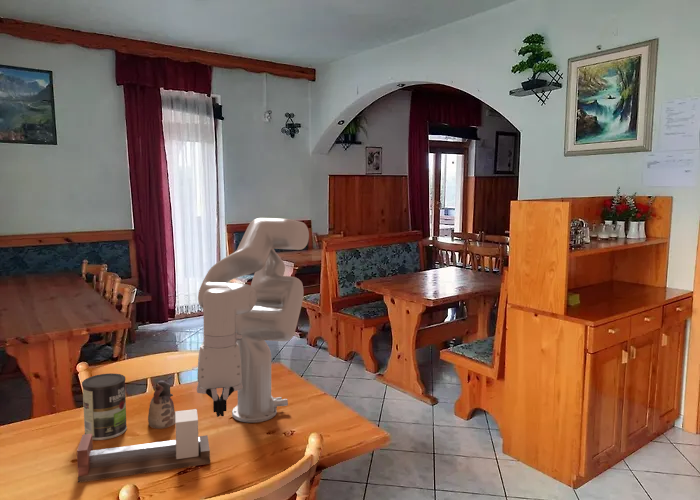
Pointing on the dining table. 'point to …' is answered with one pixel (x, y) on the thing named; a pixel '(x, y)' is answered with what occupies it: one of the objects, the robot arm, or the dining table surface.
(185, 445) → the block
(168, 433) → the dining table surface
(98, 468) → the board
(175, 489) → the dining table surface
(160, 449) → the beam
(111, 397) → the coffee can
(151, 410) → the figurine
